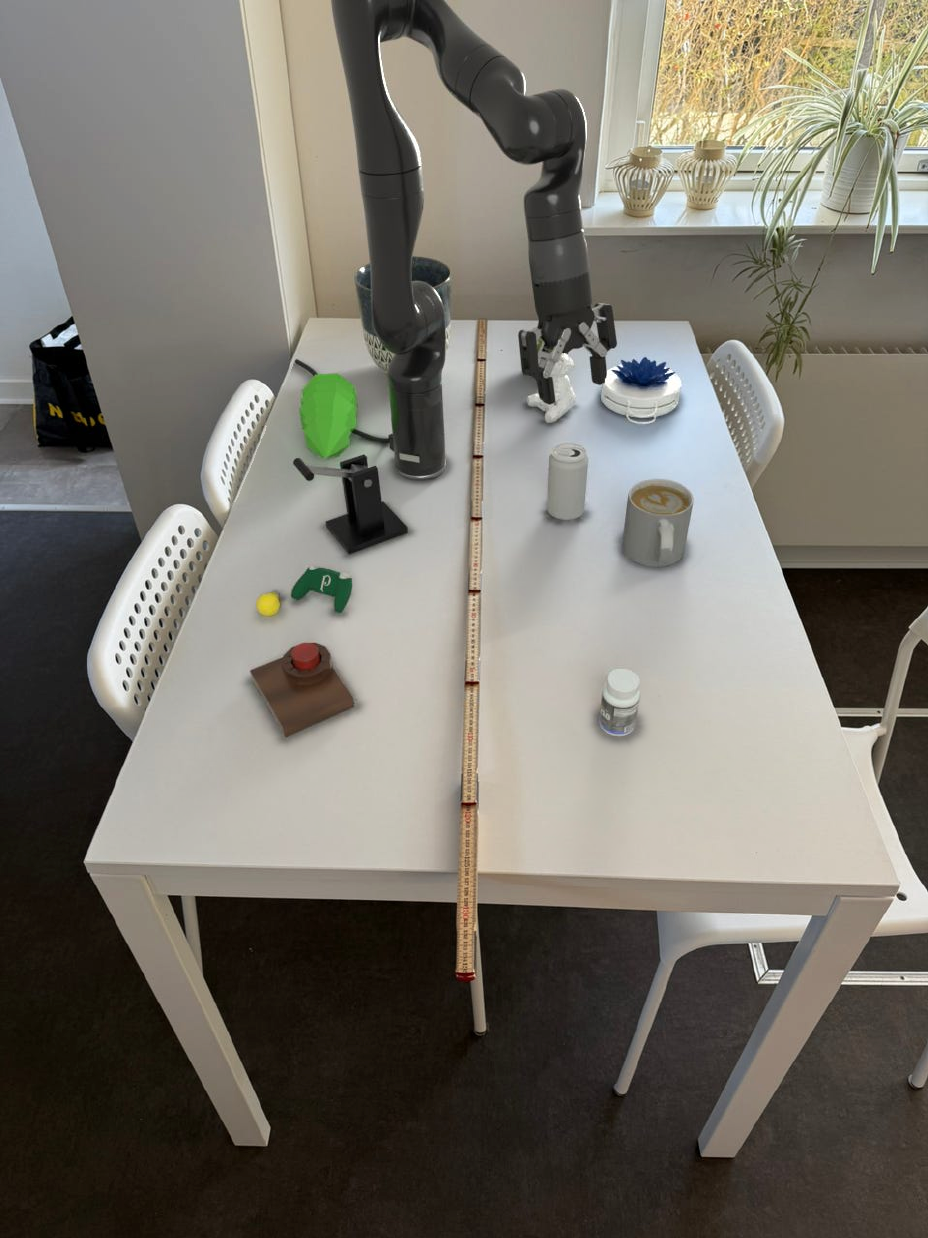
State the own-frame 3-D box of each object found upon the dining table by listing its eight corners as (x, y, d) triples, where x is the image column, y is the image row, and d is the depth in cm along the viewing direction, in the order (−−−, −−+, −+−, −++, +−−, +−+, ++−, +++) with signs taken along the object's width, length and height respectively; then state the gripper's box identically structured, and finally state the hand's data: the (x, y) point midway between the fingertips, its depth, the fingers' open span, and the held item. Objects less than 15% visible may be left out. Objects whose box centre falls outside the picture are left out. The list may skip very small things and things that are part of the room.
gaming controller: (350, 615, 132) (361, 578, 132) (339, 613, 128) (350, 574, 128) (299, 600, 135) (310, 563, 135) (287, 597, 131) (298, 559, 131)
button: (289, 658, 118) (287, 649, 117) (313, 648, 119) (311, 639, 118) (299, 674, 116) (297, 665, 114) (324, 664, 117) (322, 654, 116)
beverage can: (582, 524, 145) (587, 463, 136) (544, 521, 146) (546, 460, 138) (585, 503, 149) (590, 442, 141) (548, 499, 150) (551, 439, 142)
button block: (252, 681, 120) (247, 660, 117) (320, 653, 124) (316, 633, 121) (285, 737, 112) (280, 717, 110) (356, 706, 116) (352, 686, 113)
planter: (454, 394, 179) (450, 292, 165) (361, 395, 180) (349, 294, 165) (455, 351, 193) (452, 254, 179) (369, 353, 194) (359, 256, 179)
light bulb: (259, 622, 129) (249, 602, 127) (271, 605, 134) (261, 585, 133) (279, 617, 128) (270, 596, 126) (290, 600, 133) (281, 580, 132)
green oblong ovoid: (341, 347, 169) (336, 419, 146) (369, 396, 176) (368, 472, 153) (291, 372, 171) (278, 446, 148) (321, 419, 178) (313, 497, 155)
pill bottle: (595, 711, 114) (600, 667, 108) (630, 708, 114) (637, 664, 109) (602, 739, 111) (608, 695, 105) (638, 736, 111) (646, 692, 105)
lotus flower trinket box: (604, 348, 177) (602, 395, 163) (681, 351, 176) (685, 399, 161) (602, 379, 182) (599, 427, 168) (676, 382, 180) (680, 431, 166)
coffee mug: (623, 526, 144) (630, 475, 137) (684, 532, 142) (693, 481, 136) (618, 577, 134) (625, 525, 128) (683, 584, 133) (693, 532, 126)
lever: (303, 483, 130) (307, 469, 129) (291, 468, 133) (294, 454, 132) (372, 489, 138) (376, 475, 136) (358, 474, 141) (362, 461, 140)
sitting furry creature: (524, 404, 175) (525, 348, 167) (560, 393, 178) (563, 338, 170) (548, 424, 169) (551, 367, 161) (585, 413, 172) (589, 357, 164)
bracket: (348, 554, 140) (339, 489, 132) (326, 527, 146) (315, 462, 137) (408, 532, 144) (402, 467, 136) (383, 506, 150) (376, 442, 141)
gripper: (586, 255, 116) (598, 372, 125) (498, 283, 111) (517, 404, 120) (621, 258, 110) (631, 381, 119) (530, 289, 105) (547, 415, 114)
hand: (574, 392), depth 119 cm, fingers open, 8 cm apart
